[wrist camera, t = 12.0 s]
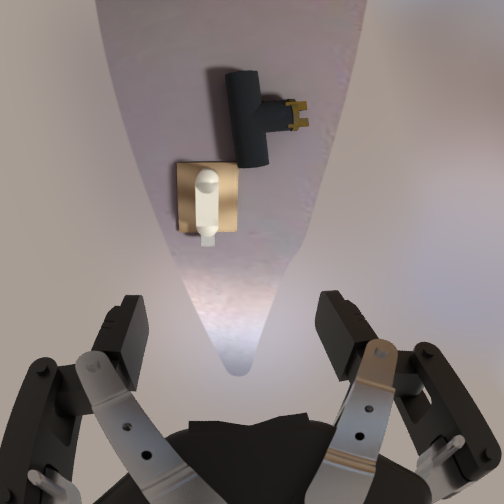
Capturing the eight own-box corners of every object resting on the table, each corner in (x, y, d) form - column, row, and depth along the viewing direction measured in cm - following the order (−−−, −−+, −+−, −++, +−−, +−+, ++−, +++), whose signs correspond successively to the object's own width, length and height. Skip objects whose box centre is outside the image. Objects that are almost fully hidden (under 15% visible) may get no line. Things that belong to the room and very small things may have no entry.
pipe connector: (303, 67, 34) (313, 161, 40) (294, 73, 38) (303, 157, 45) (225, 72, 33) (238, 169, 40) (224, 78, 38) (236, 165, 45)
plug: (197, 167, 43) (195, 171, 39) (218, 167, 43) (218, 170, 40) (198, 240, 48) (197, 250, 45) (218, 240, 49) (218, 250, 45)
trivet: (177, 162, 43) (176, 163, 42) (238, 162, 44) (238, 162, 43) (179, 231, 48) (179, 232, 47) (236, 230, 49) (236, 231, 49)
